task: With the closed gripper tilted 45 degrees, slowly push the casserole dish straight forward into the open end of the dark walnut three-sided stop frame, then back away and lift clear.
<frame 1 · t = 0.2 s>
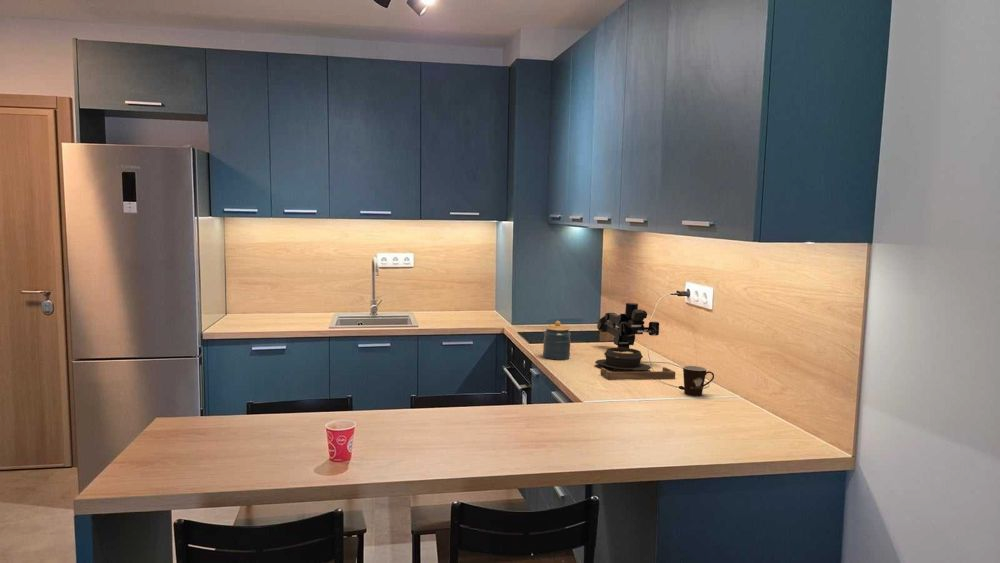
hand: (646, 332, 288), 16 cm above the countertop, tool horizontal, fingers open, 9 cm apart
coffee mug: (697, 394, 246), on the countertop
casserole: (622, 369, 287), on the countertop
stop frame: (637, 376, 272), on the countertop
canister: (556, 358, 306), on the countertop
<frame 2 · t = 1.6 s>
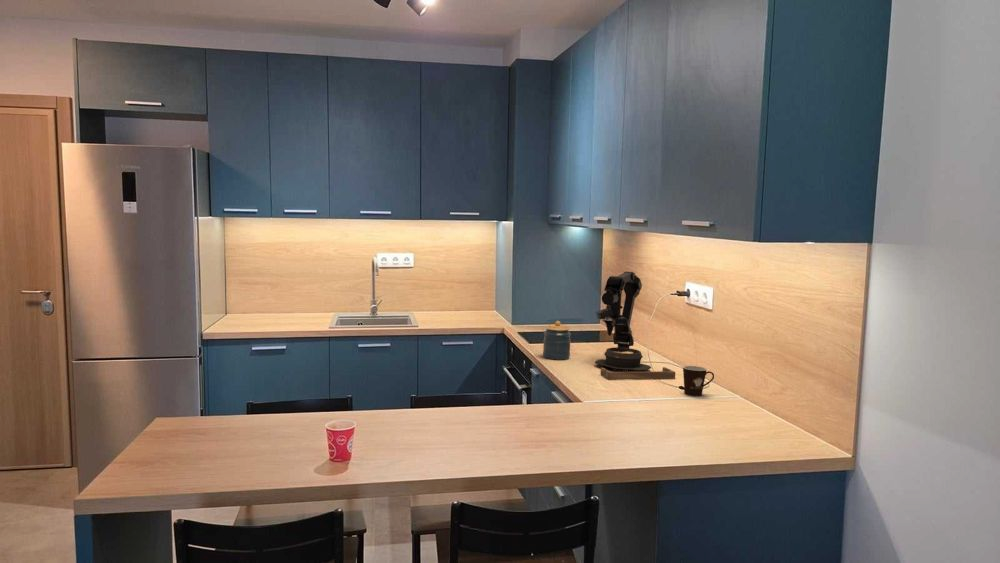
hand: (612, 336, 299), 12 cm above the countertop, tool pointing down, fingers open, 8 cm apart
nothing on the countertop moved.
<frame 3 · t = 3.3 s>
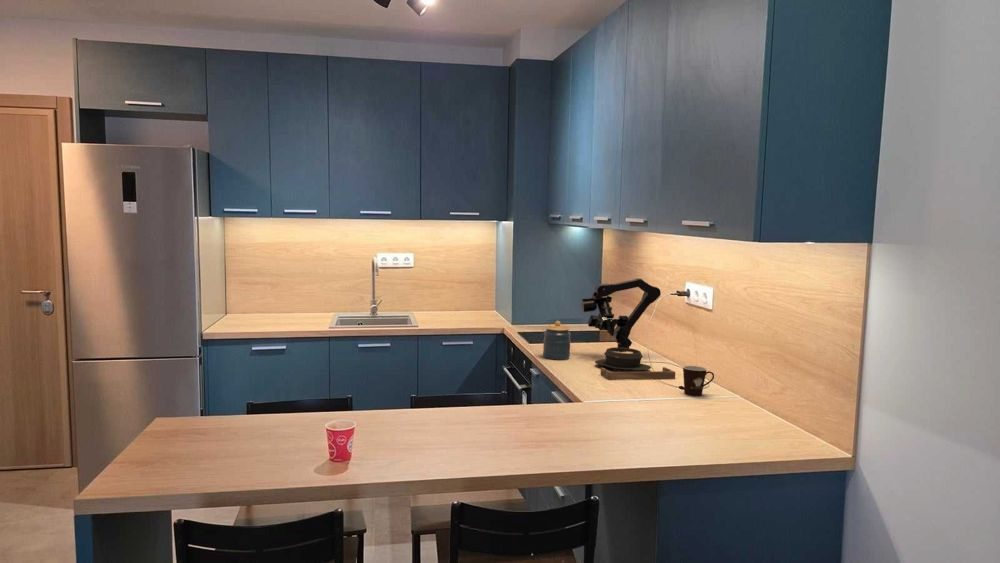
hand: (612, 335, 299), 13 cm above the countertop, tool tilted 45°, fingers closed
nothing on the countertop moved.
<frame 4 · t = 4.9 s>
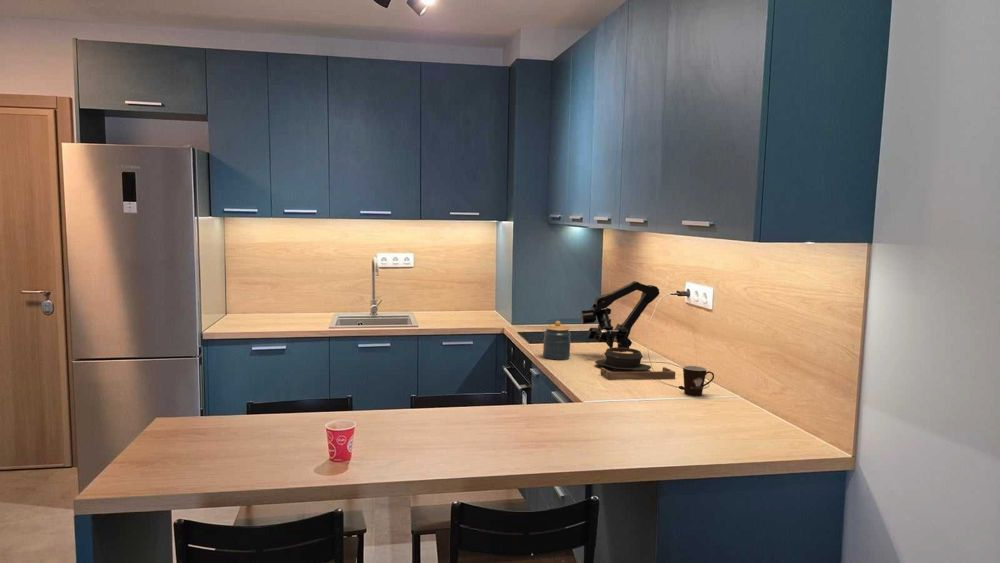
hand: (611, 348, 300), 7 cm above the countertop, tool tilted 45°, fingers closed
nothing on the countertop moved.
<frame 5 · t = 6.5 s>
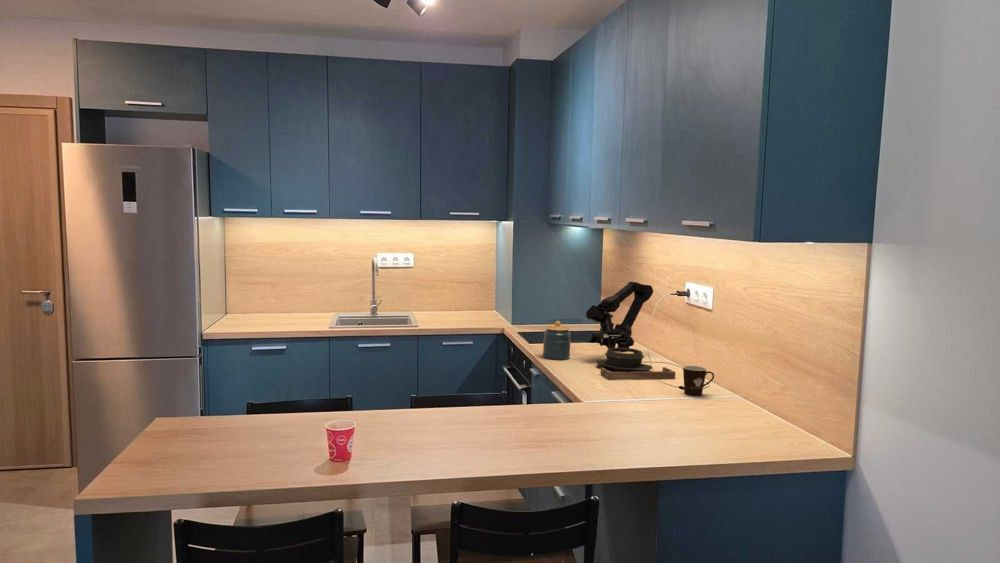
hand: (612, 353, 294), 5 cm above the countertop, tool tilted 40°, fingers closed
casserole: (623, 369, 286), on the countertop, touching gripper
everything else where it was.
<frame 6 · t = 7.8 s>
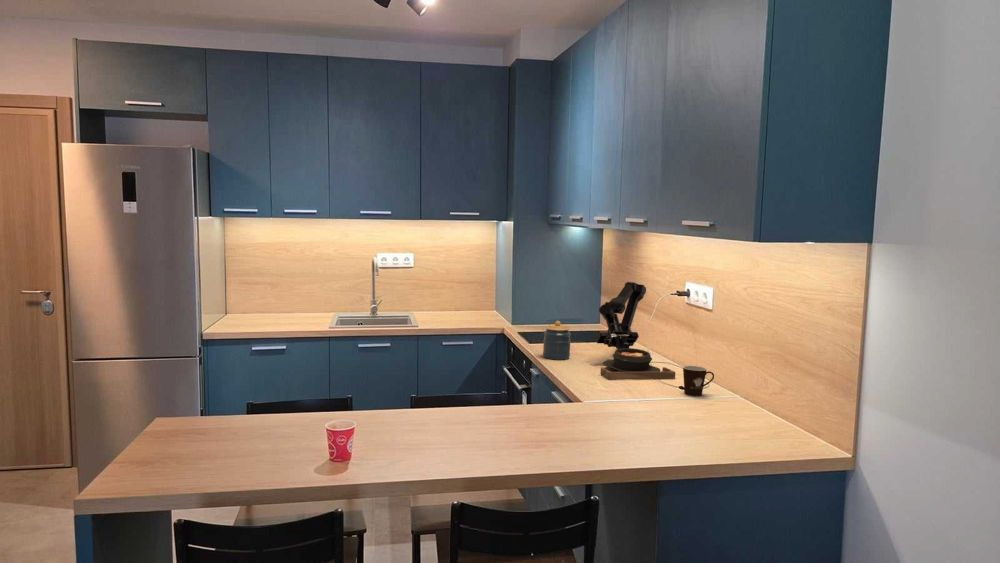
hand: (621, 353, 288), 7 cm above the countertop, tool tilted 45°, fingers closed
casserole: (631, 371, 281), on the countertop, touching gripper
everything else where it was.
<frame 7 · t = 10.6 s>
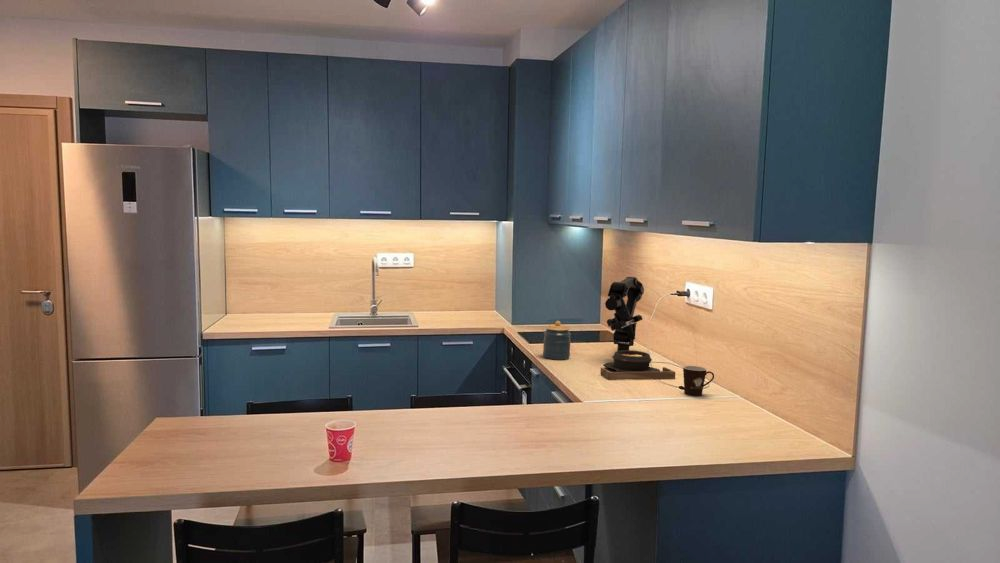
hand: (633, 339, 298), 11 cm above the countertop, tool tilted 30°, fingers closed
casserole: (631, 372, 281), on the countertop
everything else where it was.
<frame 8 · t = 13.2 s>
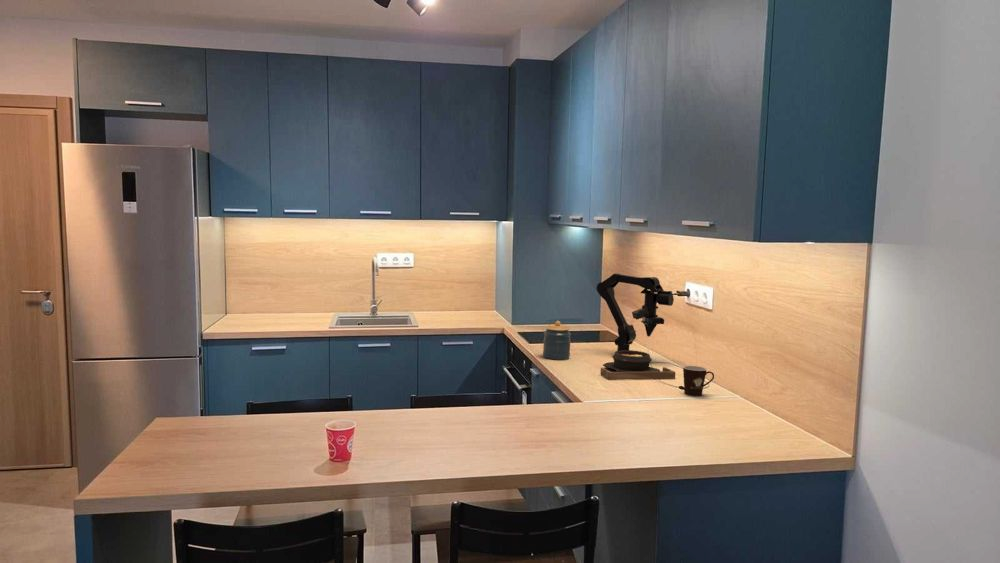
hand: (648, 336, 305), 12 cm above the countertop, tool pointing down, fingers closed
nothing on the countertop moved.
at the end: casserole inside the target area (1.8 cm from its centre), on the countertop; casserole moved 6.7 cm from its start; casserole tilted 0° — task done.
